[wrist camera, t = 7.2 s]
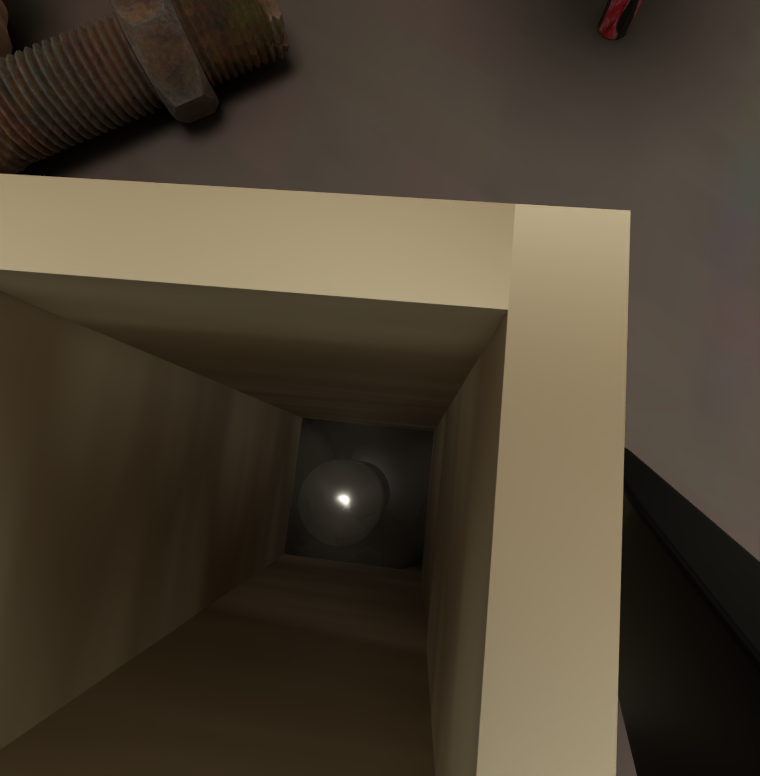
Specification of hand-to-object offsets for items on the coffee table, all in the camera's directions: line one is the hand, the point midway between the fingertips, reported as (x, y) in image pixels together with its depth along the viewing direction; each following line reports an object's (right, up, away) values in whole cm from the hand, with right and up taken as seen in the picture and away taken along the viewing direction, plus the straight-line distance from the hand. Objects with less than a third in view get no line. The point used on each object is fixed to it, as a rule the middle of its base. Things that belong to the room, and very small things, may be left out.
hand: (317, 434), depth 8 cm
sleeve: (0, -3, +7) cm, 8 cm away
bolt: (-10, +12, +12) cm, 20 cm away
